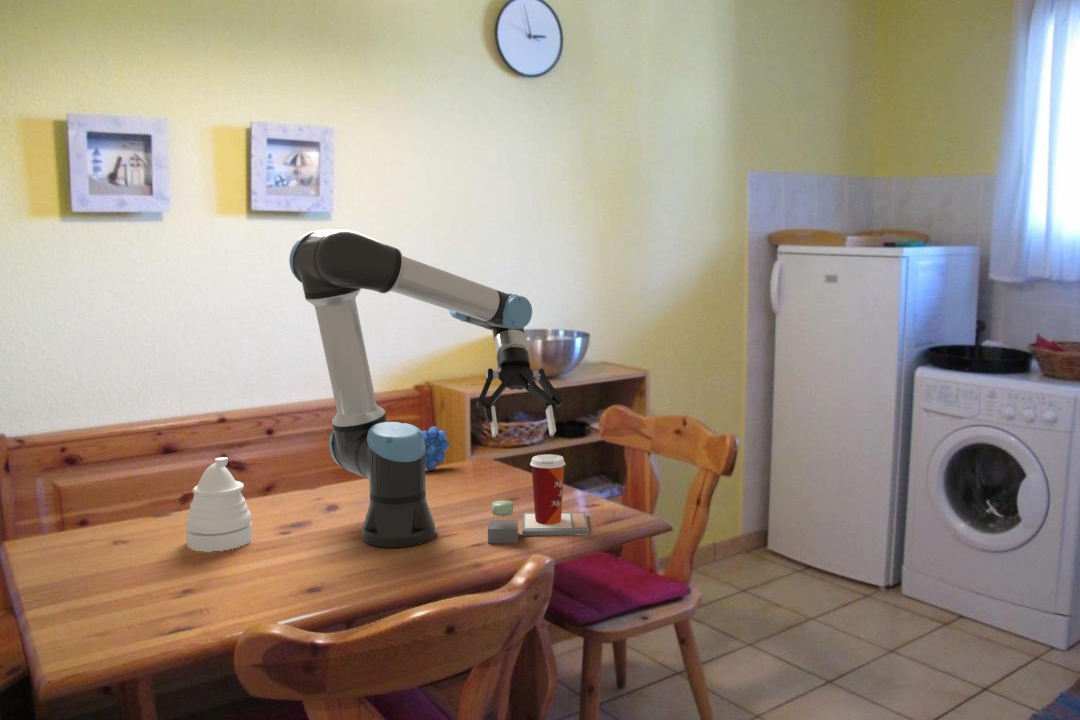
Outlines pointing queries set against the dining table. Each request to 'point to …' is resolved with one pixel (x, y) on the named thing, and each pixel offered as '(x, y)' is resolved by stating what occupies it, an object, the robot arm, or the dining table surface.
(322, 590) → the dining table surface
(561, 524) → the picture board
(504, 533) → the button housing
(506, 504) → the button
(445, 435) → the grapes
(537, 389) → the robot arm
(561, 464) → the paper cup
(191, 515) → the honey pot
